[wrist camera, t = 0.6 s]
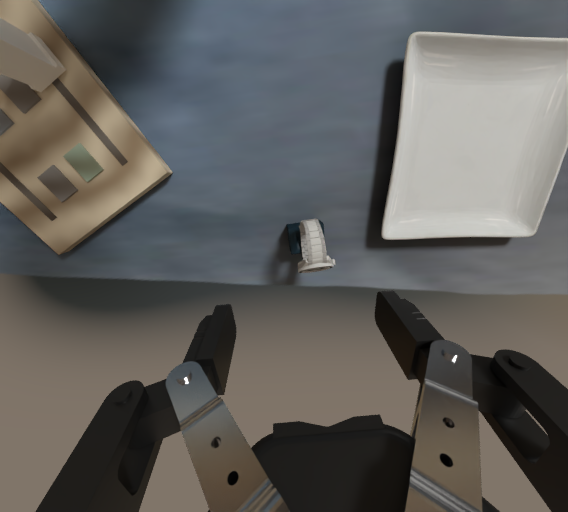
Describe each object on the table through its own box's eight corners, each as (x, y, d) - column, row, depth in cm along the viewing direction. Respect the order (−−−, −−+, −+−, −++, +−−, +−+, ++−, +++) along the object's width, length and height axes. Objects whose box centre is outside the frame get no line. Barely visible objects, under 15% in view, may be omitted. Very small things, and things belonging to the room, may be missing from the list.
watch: (291, 259, 41) (299, 287, 30) (285, 214, 38) (292, 228, 27) (322, 254, 41) (341, 281, 30) (318, 209, 38) (338, 221, 28)
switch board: (-85, 107, 30) (-112, 102, 28) (32, -7, 27) (11, -23, 25) (69, 250, 37) (57, 255, 35) (172, 172, 35) (166, 172, 32)
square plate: (514, 232, 42) (538, 237, 39) (371, 235, 40) (381, 240, 37) (575, 51, 33) (614, 35, 30) (395, 44, 32) (411, 27, 28)
